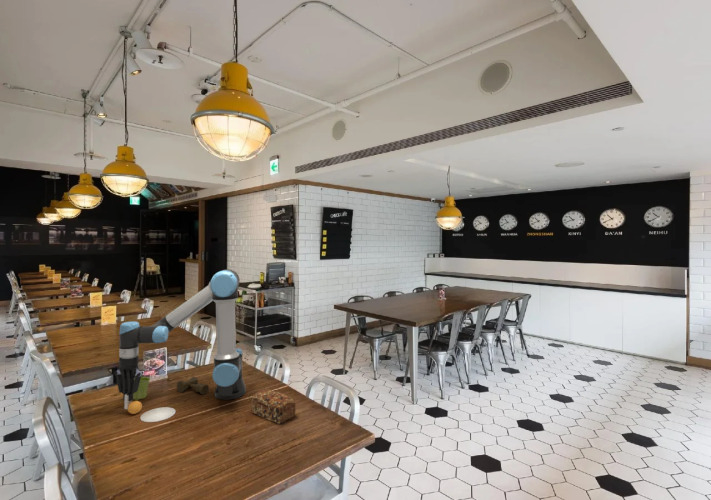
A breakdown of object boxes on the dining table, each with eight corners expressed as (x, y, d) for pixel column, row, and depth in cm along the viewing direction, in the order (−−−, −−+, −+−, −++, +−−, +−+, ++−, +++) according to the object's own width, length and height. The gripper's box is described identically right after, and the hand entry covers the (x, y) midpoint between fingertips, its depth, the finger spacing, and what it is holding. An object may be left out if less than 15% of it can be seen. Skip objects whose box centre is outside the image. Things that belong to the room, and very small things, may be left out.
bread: (250, 413, 167) (250, 392, 167) (268, 405, 176) (268, 385, 175) (278, 426, 156) (279, 402, 156) (296, 416, 165) (296, 394, 165)
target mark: (181, 408, 171) (181, 408, 171) (163, 423, 157) (163, 422, 157) (153, 406, 173) (153, 406, 173) (132, 421, 159) (132, 420, 159)
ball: (138, 412, 169) (146, 405, 168) (130, 418, 163) (138, 411, 163) (131, 403, 169) (139, 396, 169) (122, 409, 164) (131, 401, 163)
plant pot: (143, 401, 178) (143, 384, 178) (124, 401, 179) (124, 383, 178) (154, 393, 188) (154, 377, 188) (136, 393, 188) (136, 376, 188)
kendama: (197, 398, 184) (171, 390, 193) (212, 392, 192) (187, 384, 201) (197, 387, 184) (172, 378, 193) (213, 381, 192) (187, 373, 201)
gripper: (109, 358, 163) (108, 410, 163) (136, 359, 162) (135, 412, 162) (121, 353, 171) (121, 403, 171) (147, 354, 169) (146, 405, 170)
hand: (128, 407), depth 166 cm, fingers closed
